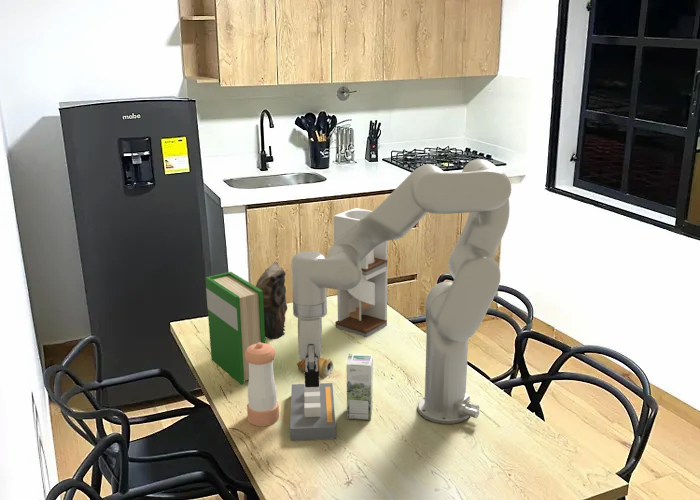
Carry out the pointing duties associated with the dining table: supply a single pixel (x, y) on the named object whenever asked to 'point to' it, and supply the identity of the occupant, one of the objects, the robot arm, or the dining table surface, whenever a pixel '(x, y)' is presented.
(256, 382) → the pepper shaker
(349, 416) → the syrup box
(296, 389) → the breaker panel
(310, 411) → the paddle
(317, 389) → the paddle
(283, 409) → the dining table surface
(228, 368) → the hardback book
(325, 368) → the pastry
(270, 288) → the owl
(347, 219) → the white tower
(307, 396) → the middle paddle
